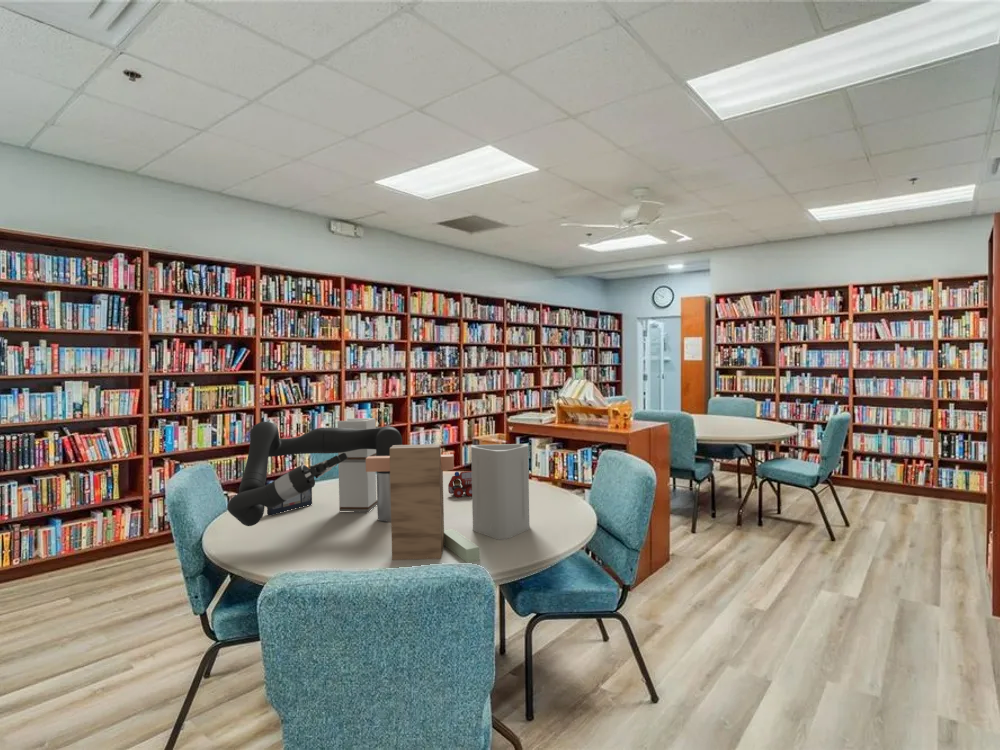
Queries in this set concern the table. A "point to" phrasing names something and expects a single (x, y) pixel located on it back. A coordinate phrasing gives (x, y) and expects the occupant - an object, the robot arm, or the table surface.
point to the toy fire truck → (465, 482)
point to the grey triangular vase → (500, 489)
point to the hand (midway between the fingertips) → (342, 456)
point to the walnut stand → (416, 502)
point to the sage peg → (461, 545)
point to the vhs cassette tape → (293, 503)
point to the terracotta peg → (384, 463)
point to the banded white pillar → (357, 473)
